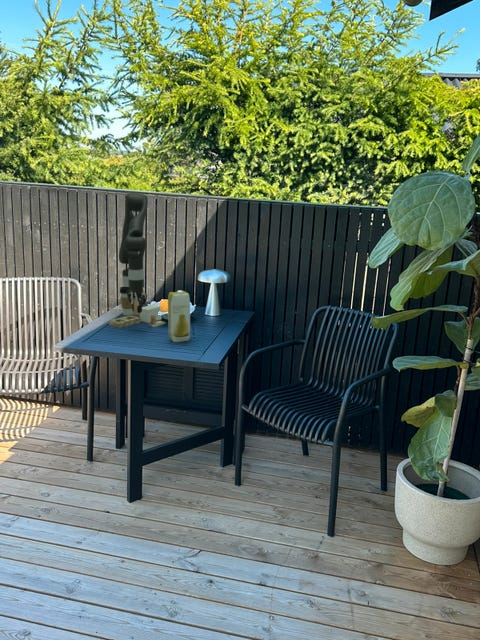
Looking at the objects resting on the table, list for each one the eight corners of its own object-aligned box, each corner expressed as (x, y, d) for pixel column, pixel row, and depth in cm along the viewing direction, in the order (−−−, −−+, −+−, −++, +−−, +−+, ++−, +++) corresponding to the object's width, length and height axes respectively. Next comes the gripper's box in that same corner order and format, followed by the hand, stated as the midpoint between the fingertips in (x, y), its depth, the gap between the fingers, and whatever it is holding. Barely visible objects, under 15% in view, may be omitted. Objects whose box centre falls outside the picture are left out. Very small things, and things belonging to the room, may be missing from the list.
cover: (139, 320, 303) (139, 307, 302) (153, 317, 311) (153, 304, 309) (147, 322, 300) (147, 309, 298) (161, 319, 307) (161, 306, 305)
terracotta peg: (132, 314, 286) (132, 298, 284) (137, 312, 289) (137, 297, 286) (136, 315, 285) (136, 299, 282) (141, 314, 287) (141, 298, 285)
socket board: (119, 328, 290) (119, 323, 289) (109, 325, 294) (109, 320, 294) (140, 322, 300) (140, 317, 299) (130, 319, 305) (130, 315, 304)
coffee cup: (118, 313, 318) (117, 286, 314) (134, 311, 322) (133, 285, 318) (122, 316, 311) (121, 289, 307) (138, 315, 314) (137, 288, 310)
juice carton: (172, 343, 267) (172, 292, 261) (167, 338, 274) (166, 289, 267) (191, 341, 271) (191, 291, 265) (185, 336, 278) (185, 287, 271)
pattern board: (148, 325, 295) (148, 315, 294) (160, 322, 301) (159, 312, 300) (154, 326, 293) (153, 317, 291) (165, 323, 299) (165, 314, 297)
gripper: (151, 278, 280) (152, 313, 285) (132, 274, 289) (133, 308, 293) (140, 281, 274) (140, 316, 279) (120, 276, 283) (122, 310, 288)
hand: (137, 311), depth 286 cm, fingers closed on terracotta peg, 3 cm apart
